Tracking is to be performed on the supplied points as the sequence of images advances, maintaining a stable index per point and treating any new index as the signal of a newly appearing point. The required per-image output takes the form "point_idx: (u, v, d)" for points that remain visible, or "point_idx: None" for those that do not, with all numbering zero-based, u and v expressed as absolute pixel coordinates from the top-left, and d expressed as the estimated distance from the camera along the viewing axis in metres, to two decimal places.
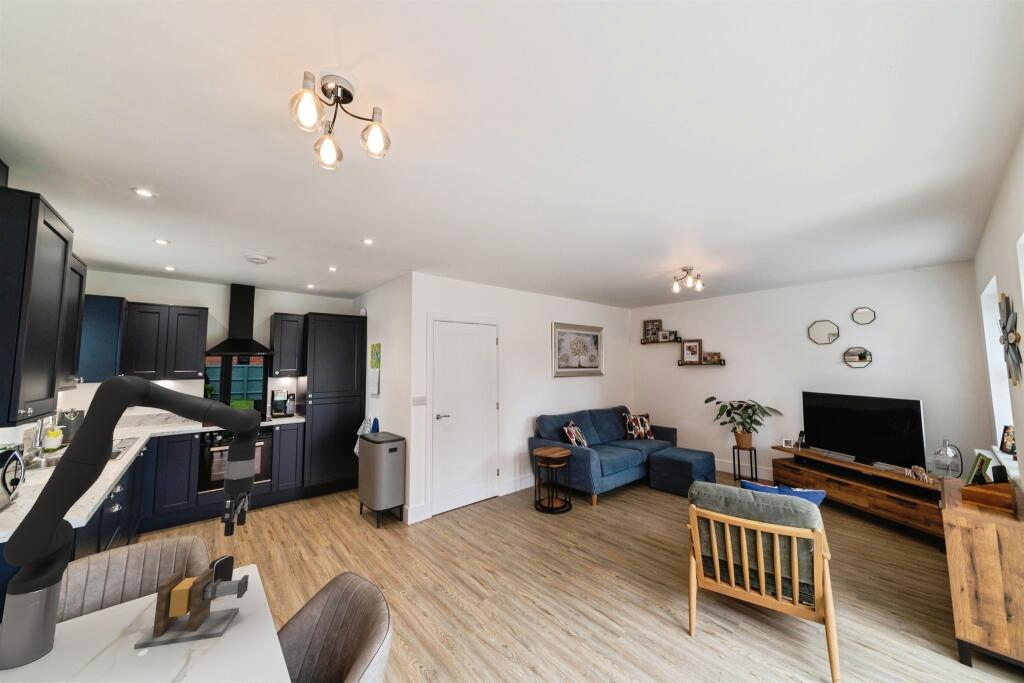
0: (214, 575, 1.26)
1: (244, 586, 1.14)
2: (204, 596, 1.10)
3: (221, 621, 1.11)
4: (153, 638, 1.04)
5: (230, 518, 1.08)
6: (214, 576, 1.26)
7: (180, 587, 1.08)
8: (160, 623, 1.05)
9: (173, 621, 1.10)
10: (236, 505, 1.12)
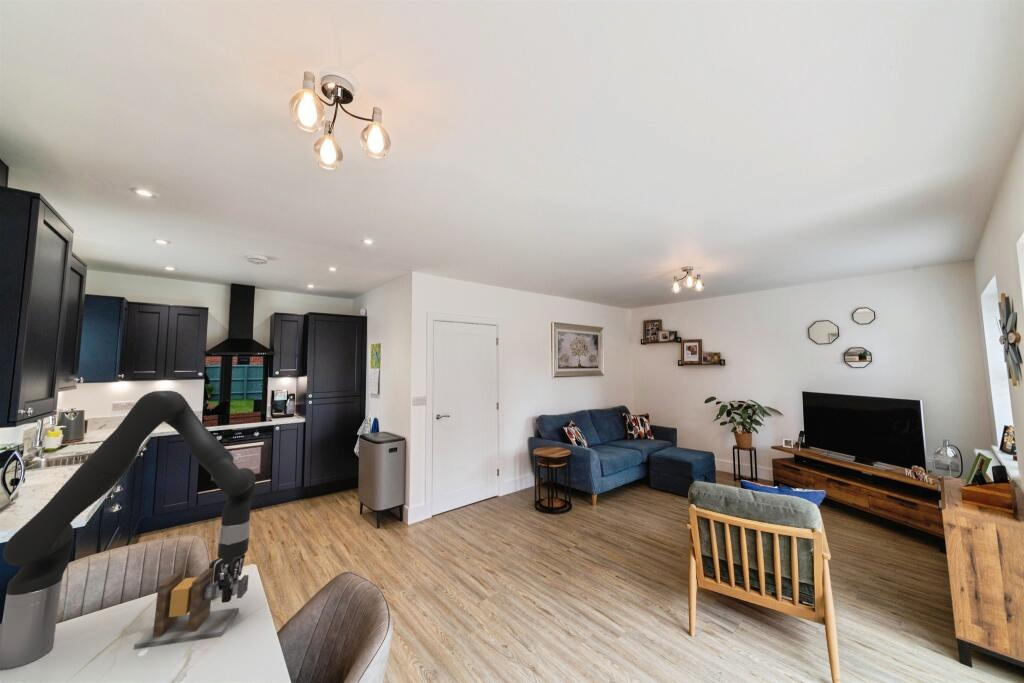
0: (214, 575, 1.26)
1: (244, 586, 1.14)
2: (204, 596, 1.10)
3: (221, 621, 1.11)
4: (153, 638, 1.04)
5: (228, 585, 1.09)
6: (214, 576, 1.26)
7: (180, 587, 1.08)
8: (160, 623, 1.05)
9: (173, 621, 1.10)
10: (231, 572, 1.12)
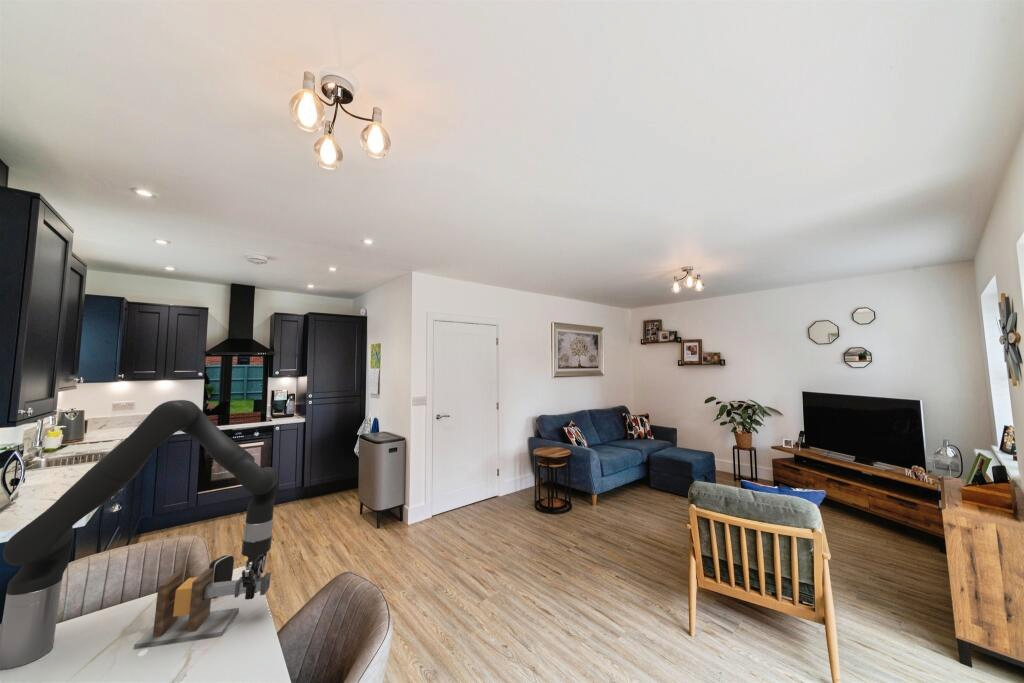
0: (214, 575, 1.26)
1: (266, 583, 1.15)
2: (228, 593, 1.12)
3: (221, 621, 1.11)
4: (153, 638, 1.04)
5: (252, 582, 1.11)
6: (214, 576, 1.26)
7: (184, 586, 1.09)
8: (160, 623, 1.05)
9: (173, 621, 1.10)
10: (255, 569, 1.13)
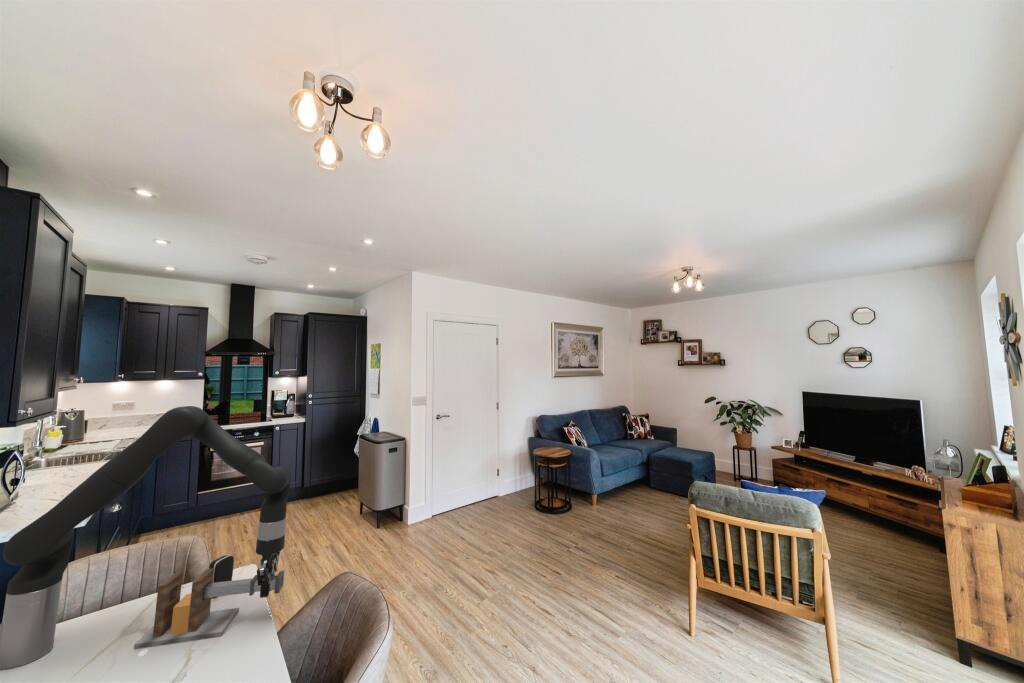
0: (214, 575, 1.26)
1: (280, 582, 1.16)
2: (243, 591, 1.13)
3: (221, 621, 1.11)
4: (153, 638, 1.04)
5: (266, 581, 1.12)
6: (214, 576, 1.26)
7: (182, 603, 1.08)
8: (160, 623, 1.05)
9: None
10: (269, 568, 1.14)
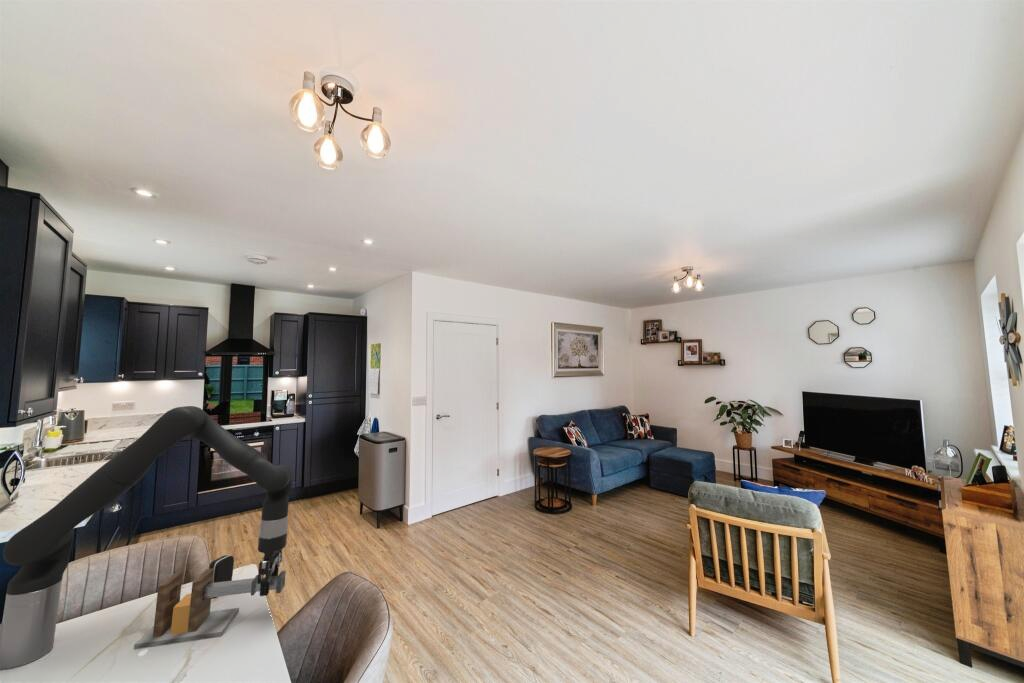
0: (214, 575, 1.26)
1: (282, 582, 1.16)
2: (244, 591, 1.13)
3: (221, 621, 1.11)
4: (153, 638, 1.04)
5: (266, 579, 1.10)
6: (214, 576, 1.26)
7: (182, 603, 1.08)
8: (160, 623, 1.05)
9: None
10: (271, 564, 1.14)
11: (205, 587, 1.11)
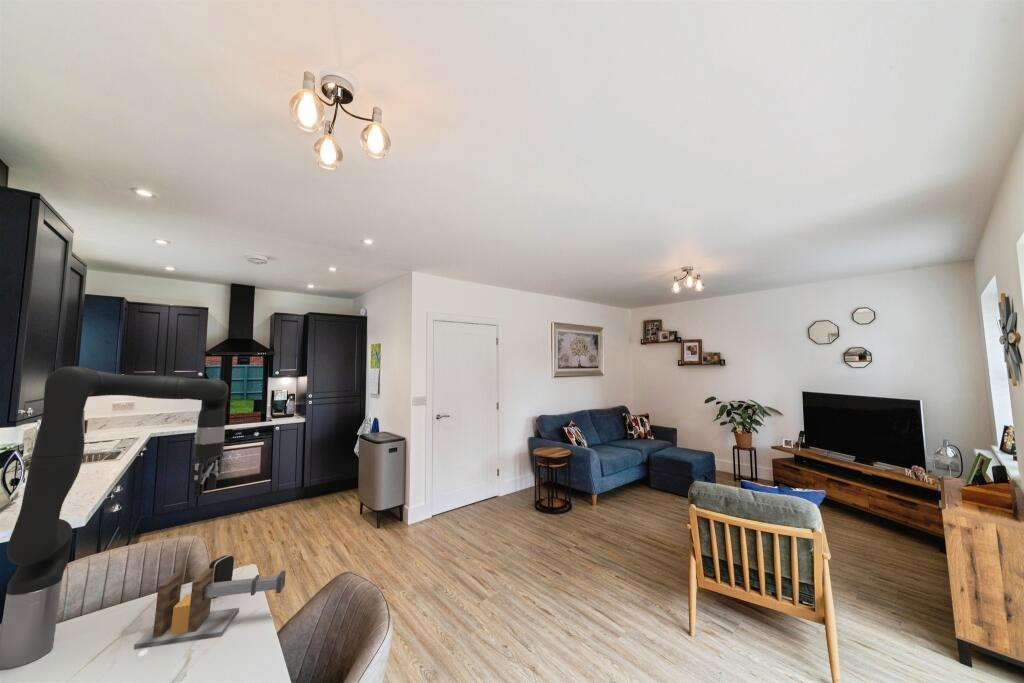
0: (214, 575, 1.26)
1: (282, 582, 1.16)
2: (244, 591, 1.13)
3: (221, 621, 1.11)
4: (153, 638, 1.04)
5: (199, 480, 1.15)
6: (214, 576, 1.26)
7: (182, 603, 1.08)
8: (160, 623, 1.05)
9: None
10: (205, 469, 1.19)
11: (205, 587, 1.11)
